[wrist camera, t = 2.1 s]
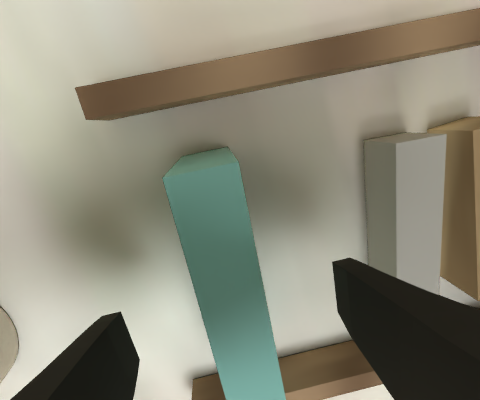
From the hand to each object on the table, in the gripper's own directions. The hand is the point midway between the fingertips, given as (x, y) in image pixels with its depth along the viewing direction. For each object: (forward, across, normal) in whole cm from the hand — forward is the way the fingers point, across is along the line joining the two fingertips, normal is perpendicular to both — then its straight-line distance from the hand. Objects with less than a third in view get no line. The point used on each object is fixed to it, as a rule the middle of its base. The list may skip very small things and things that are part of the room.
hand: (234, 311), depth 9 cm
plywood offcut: (+4, -12, 0) cm, 12 cm away
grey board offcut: (+4, -8, 0) cm, 9 cm away
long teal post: (+4, 0, 0) cm, 4 cm away
